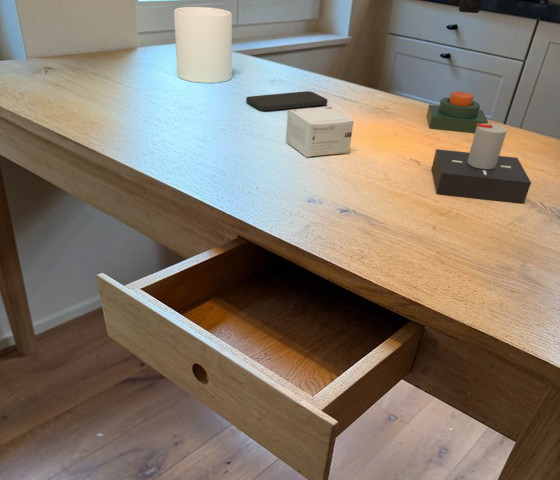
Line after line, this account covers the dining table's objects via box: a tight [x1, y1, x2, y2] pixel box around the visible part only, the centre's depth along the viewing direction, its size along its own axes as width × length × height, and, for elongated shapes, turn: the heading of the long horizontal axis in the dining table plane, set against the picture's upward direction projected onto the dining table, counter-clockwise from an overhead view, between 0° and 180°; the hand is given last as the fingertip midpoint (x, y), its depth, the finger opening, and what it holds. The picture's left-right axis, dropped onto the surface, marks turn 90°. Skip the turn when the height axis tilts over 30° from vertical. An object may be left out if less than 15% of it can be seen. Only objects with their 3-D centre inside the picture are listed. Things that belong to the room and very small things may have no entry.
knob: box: [467, 122, 508, 169], centre depth 78 cm, size 4×4×5 cm
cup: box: [173, 6, 233, 84], centre depth 118 cm, size 12×12×12 cm
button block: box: [426, 97, 489, 134], centre depth 104 cm, size 10×8×4 cm
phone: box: [245, 90, 328, 111], centre depth 109 cm, size 7×1×15 cm
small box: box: [285, 106, 354, 158], centre depth 89 cm, size 8×8×5 cm
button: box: [449, 91, 474, 106], centre depth 102 cm, size 4×4×2 cm
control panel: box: [431, 149, 532, 204], centre depth 81 cm, size 12×10×3 cm
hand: (462, 8), depth 92 cm, fingers open, 9 cm apart
